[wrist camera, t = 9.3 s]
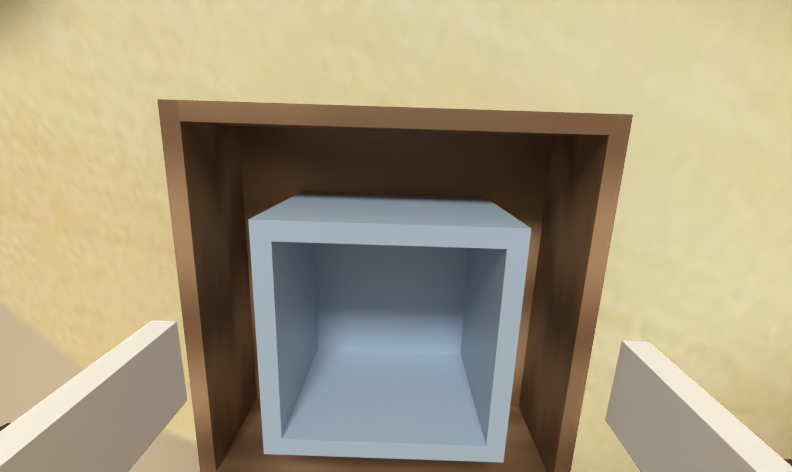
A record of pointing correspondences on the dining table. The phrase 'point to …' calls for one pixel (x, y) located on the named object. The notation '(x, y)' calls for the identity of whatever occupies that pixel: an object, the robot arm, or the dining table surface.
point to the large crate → (390, 174)
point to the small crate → (387, 324)
